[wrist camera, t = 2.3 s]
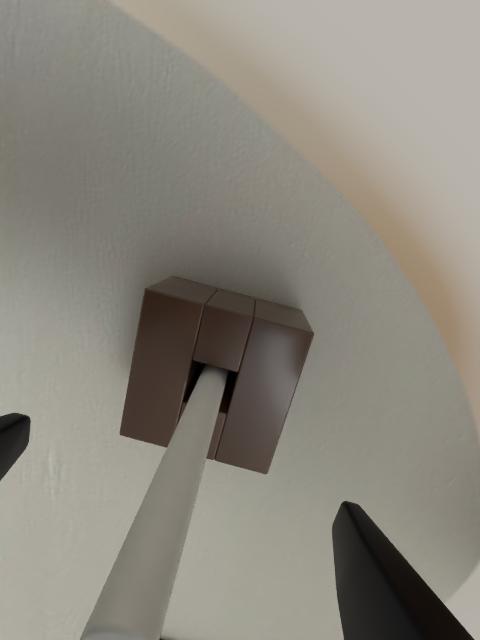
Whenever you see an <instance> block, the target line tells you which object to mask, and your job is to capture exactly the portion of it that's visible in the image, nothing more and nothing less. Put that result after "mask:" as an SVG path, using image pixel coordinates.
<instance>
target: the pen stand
mask: <svg viewBox="0 0 480 640" xmlns="http://www.w3.org/2000/svg"><path fill="white" fill-rule="evenodd" d="M313 336H314V332H313V331H312V329H311V327H310V325H309V323H308V321H307V319H306V317H305V315H304V313H303V311H302V310H298V309H294V308H291V307H287V306H283V305H279V304H276V303H272V302H268V301H264V300H260V299H255V298H253V297H249V296H245V295H242V294H238V293H234V292H230V291H226V290H223V289H217V288H215V287H211V286H207V285H204V284H200V283H196V282H192V281H188V280H185V279H181V278H177V277H170V278H168V279H166V280H163V281H161V282H159V283H157V284H154V285H152V286H150V287H148V288H145V290H144V296H143V302H142V307H141V313H140V319H139V325H138V330H137V336H136V342H135V348H134V353H133V359H132V365H131V371H130V376H129V382H128V388H127V393H126V399H125V405H124V411H123V416H122V422H121V428H120V435H122V436H125V437H129V438H133V439H137V440H140V441H144V442H148V443H152V444H155V445H159V446H163V447H168V445H169V442H170V440H171V438H172V436H173V434H174V432H175V429H176V427H177V425H178V423H179V421H180V418H181V416H182V414H183V412H184V410H185V407H186V405H187V403H188V401H189V399H190V396H191V394H192V392H193V390H194V388H195V385H196V383H197V381H198V379H199V377H200V374H201V372H202V370H203V368H204V367H200V364H201V363H205V364H209V365H212V366H216V367H220V368H224V369H227V370H231V371H235V372H236V374H235V376H234V375H230V374H228V376H227V380H226V384H225V388H224V391H223V395H222V399H221V403H220V407H219V411H218V415H217V419H216V422H215V426H214V430H213V434H212V438H211V442H210V446H209V450H208V453H207V457H206V458H207V459H211V460H214V459H215V461H218V462H222V463H226V464H230V465H233V466H237V467H241V468H245V469H248V470H252V471H256V472H260V473H263V474H267V473H268V470H269V467H270V464H271V461H272V458H273V455H274V452H275V449H276V446H277V443H278V440H279V437H280V434H281V431H282V428H283V425H284V423H285V420H286V417H287V414H288V411H289V408H290V405H291V402H292V399H293V396H294V393H295V390H296V387H297V384H298V381H299V378H300V375H301V372H302V369H303V366H304V363H305V360H306V357H307V354H308V351H309V348H310V345H311V342H312V339H313Z"/></svg>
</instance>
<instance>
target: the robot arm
mask: <svg viewBox="0 0 480 640" xmlns="http://www.w3.org/2000/svg"><path fill="white" fill-rule="evenodd" d="M30 422H31V421H30V417H29V416H27V415H23V414H19V413H11V414H8V415H4V416H1V417H0V481H1V479H2V478H3V477H4V476H5V474H6V473H7V472H8V471H9V469H10V468H11V467H12V465H13V464H14V463H15V462H16V460H17V459H18V458H19V457H20V455H21V454H22V453H23V452H24V450H25V449H26V447H27V445H28V442H29V434H30ZM332 538H333V551H334V564H335V577H336V589H337V598H338V605H339V611H340V617H341V623H342V629H343V635H344V640H474V639H473V638H472V636H471V635H470V634H469V633H468V632H467V631H466V629H465V628H464V627H463V626H462V625H461V624H460V622H459V621H458V620H457V619H456V618H455V617H454V616H453V614H452V613H451V612H450V611H449V610H448V608H447V607H446V606H445V605H444V604H443V602H442V601H441V600H440V599H439V598H438V597H437V595H436V594H435V593H434V592H433V591H432V590H431V588H430V587H429V586H428V585H427V584H426V583H425V581H424V580H423V579H422V578H421V577H420V576H419V574H418V573H417V572H416V571H415V570H414V569H413V567H412V566H411V565H410V564H409V563H408V562H407V560H406V559H405V558H404V557H403V556H402V555H401V553H400V552H399V551H398V550H397V549H396V548H395V546H394V545H393V544H392V543H391V542H390V541H389V539H388V538H387V537H386V536H385V535H384V534H383V532H382V531H381V530H380V529H379V528H378V527H377V525H376V524H375V523H374V522H373V521H372V520H371V518H370V517H369V516H368V515H367V514H366V513H365V511H364V510H363V509H362V508H361V507H360V506H359V505H358V504H355V503H352V502H348V501H344V502H342V504H341V506H340V508H339V510H338V513H337V515H336V518H335V520H334V522H333V526H332Z"/></svg>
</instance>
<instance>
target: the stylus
mask: <svg viewBox="0 0 480 640" xmlns="http://www.w3.org/2000/svg"><path fill="white" fill-rule="evenodd" d="M228 372H229V370H227V369H224V368H220V367H216V366H212V365H209V364H205V366H204V368H203V370H202V372H201V374H200V377H199V379H198V381H197V383H196V385H195V388H194V390H193V392H192V394H191V396H190V399H189V401H188V403H187V405H186V407H185V410H184V412H183V414H182V416H181V418H180V421H179V423H178V425H177V427H176V429H175V432H174V434H173V436H172V438H171V440H170V442H169V445H168V447H167V449H166V451H165V453H164V456H163V458H162V460H161V462H160V464H159V467H158V469H157V471H156V473H155V475H154V478H153V480H152V482H151V484H150V486H149V489H148V491H147V493H146V495H145V497H144V500H143V502H142V504H141V506H140V508H139V510H138V513H137V515H136V517H135V519H134V521H133V524H132V526H131V528H130V530H129V532H128V535H127V537H126V539H125V541H124V543H123V546H122V548H121V550H120V552H119V554H118V557H117V559H116V561H115V563H114V565H113V568H112V570H111V572H110V574H109V576H108V579H107V581H106V583H105V585H104V587H103V589H102V592H101V594H100V596H99V598H98V600H97V603H96V605H95V607H94V609H93V611H92V614H91V616H90V618H89V620H88V622H87V625H86V627H85V629H84V631H83V633H82V636H81V639H80V640H159V639H160V636H161V632H162V628H163V624H164V620H165V616H166V612H167V608H168V605H169V601H170V597H171V593H172V589H173V585H174V581H175V577H176V574H177V570H178V566H179V562H180V558H181V554H182V550H183V546H184V543H185V539H186V535H187V531H188V527H189V523H190V519H191V515H192V512H193V508H194V504H195V500H196V496H197V492H198V488H199V484H200V481H201V477H202V473H203V469H204V465H205V461H206V457H207V453H208V450H209V446H210V442H211V438H212V434H213V430H214V426H215V422H216V419H217V415H218V411H219V407H220V403H221V399H222V395H223V391H224V388H225V384H226V380H227V376H228Z"/></svg>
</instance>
